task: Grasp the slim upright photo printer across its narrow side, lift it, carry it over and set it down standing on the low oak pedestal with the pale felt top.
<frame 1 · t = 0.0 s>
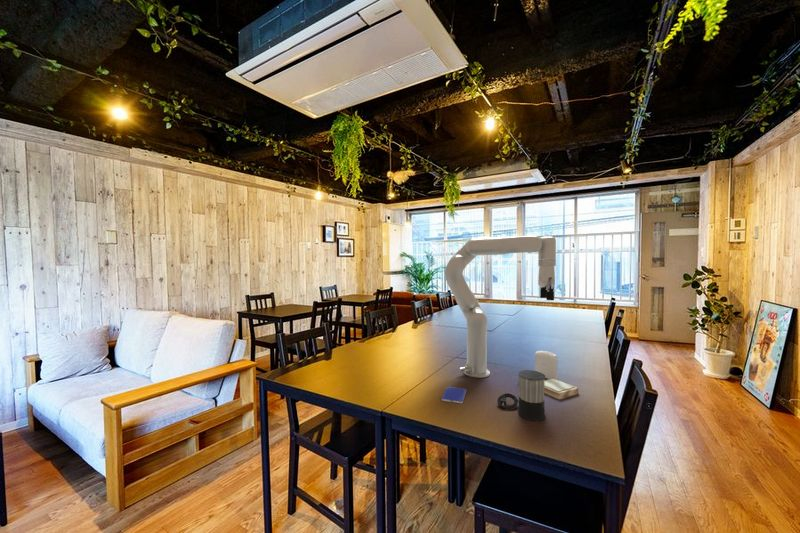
hand: (546, 298, 152), 37 cm above the table, tool pointing down, fingers open, 9 cm apart
pedestal: (555, 391, 135), on the table
hard drive: (454, 397, 132), on the table
milk frother: (520, 411, 118), on the table
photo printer: (546, 377, 151), on the table
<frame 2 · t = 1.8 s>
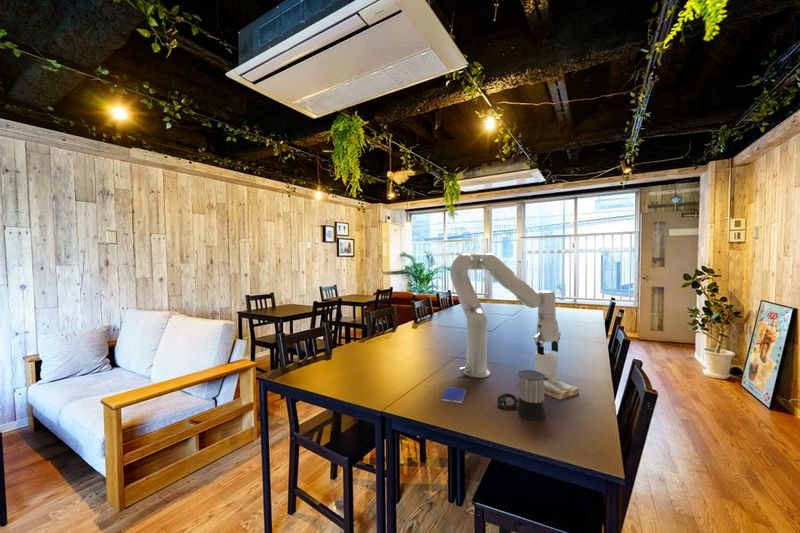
hand: (547, 352, 151), 12 cm above the table, tool pointing down, fingers open, 9 cm apart
nothing on the table moved.
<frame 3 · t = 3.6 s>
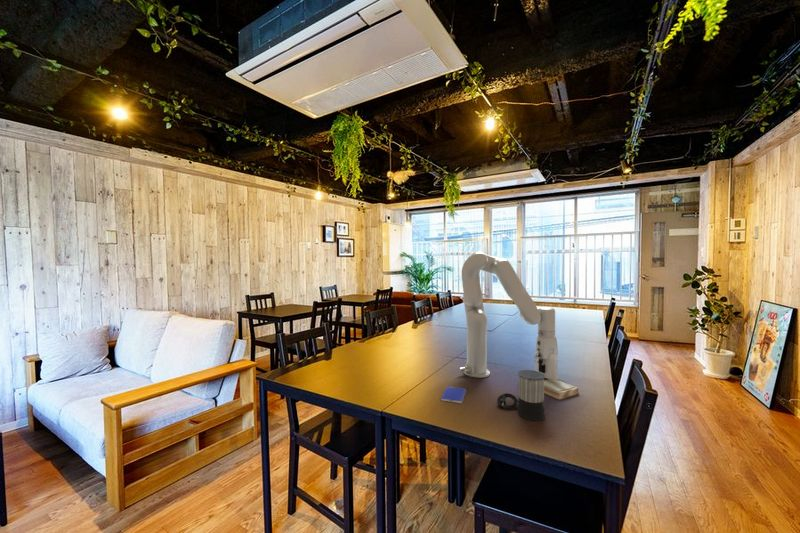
hand: (546, 371, 151), 3 cm above the table, tool pointing down, fingers closed on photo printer, 5 cm apart
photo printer: (546, 377, 151), on the table, touching gripper
everything else where it was.
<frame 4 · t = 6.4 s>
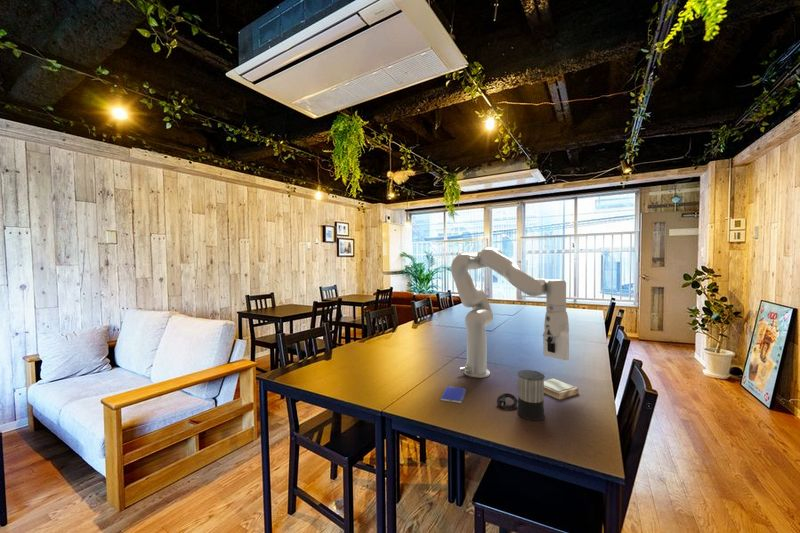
hand: (555, 350, 135), 17 cm above the table, tool pointing down, fingers closed on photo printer, 5 cm apart
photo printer: (555, 358, 135), point 14 cm above the table, touching gripper
everything else where it was.
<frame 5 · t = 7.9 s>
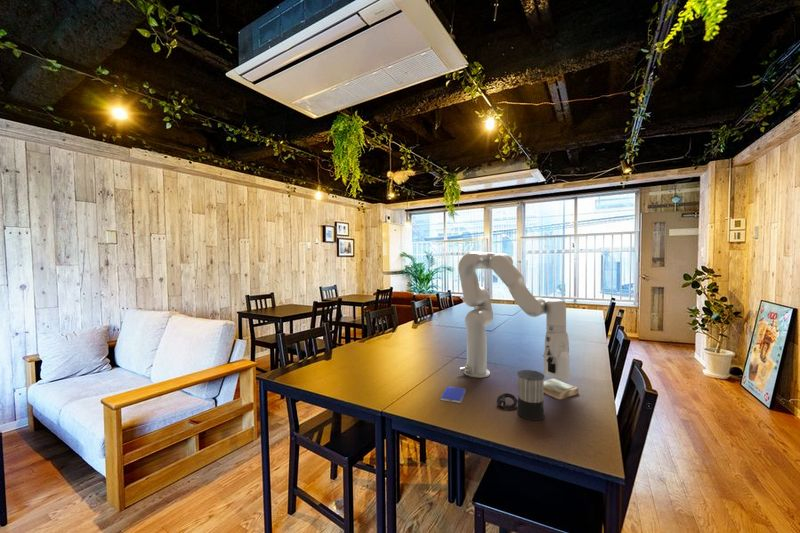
hand: (556, 370, 135), 9 cm above the table, tool pointing down, fingers closed on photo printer, 5 cm apart
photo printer: (556, 378, 135), point 6 cm above the table, touching gripper
everything else where it was.
when the fingers open (7 cm above the table, at t = 9.1 s): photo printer stays where it is, resting on pedestal.
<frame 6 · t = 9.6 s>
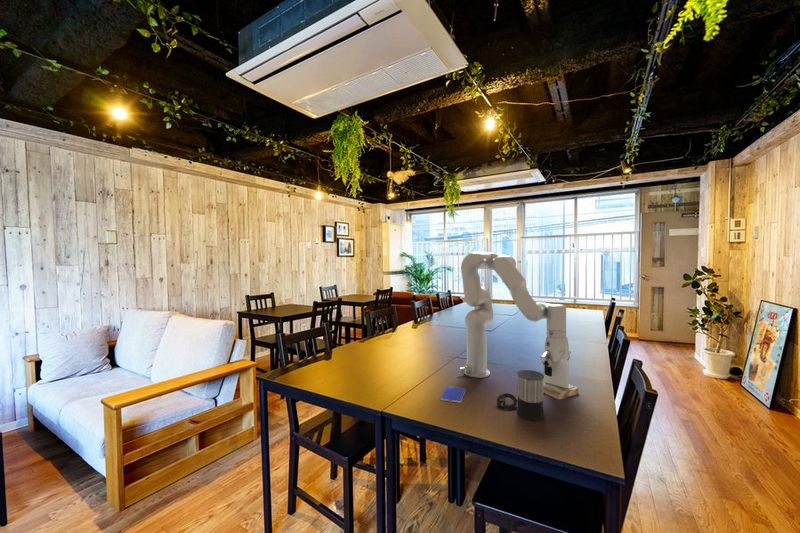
hand: (556, 373, 135), 8 cm above the table, tool pointing down, fingers open, 9 cm apart
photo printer: (555, 385, 135), point 3 cm above the table, touching pedestal
everything else where it was.
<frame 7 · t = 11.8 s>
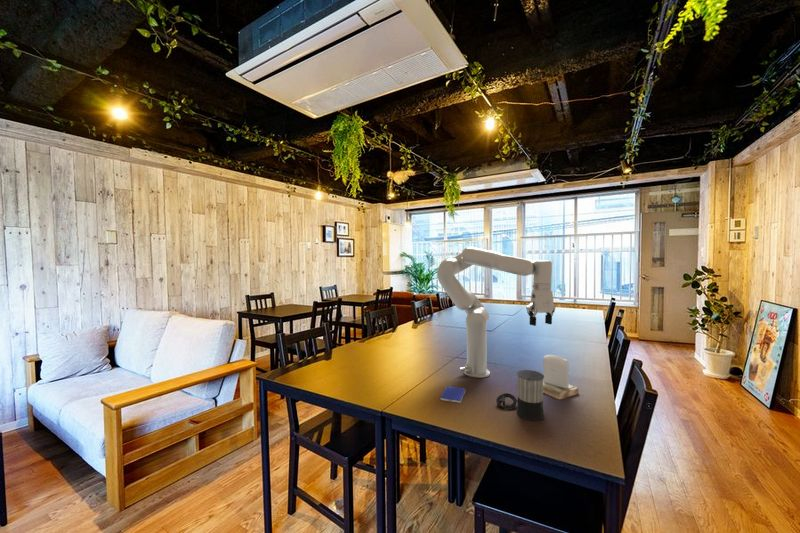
hand: (540, 324, 146), 26 cm above the table, tool pointing down, fingers open, 9 cm apart
nothing on the table moved.
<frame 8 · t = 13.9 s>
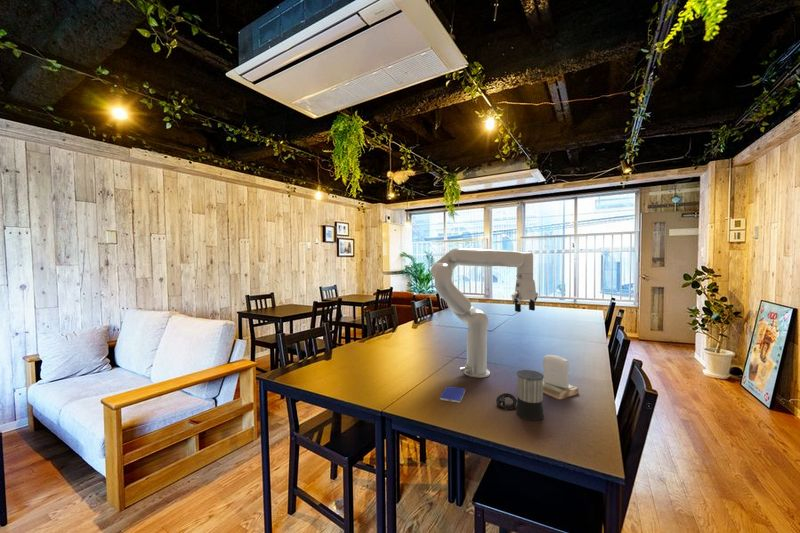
hand: (524, 310, 160), 30 cm above the table, tool pointing down, fingers open, 9 cm apart
nothing on the table moved.
at the end: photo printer inside the target area on the pedestal (0.1 cm from its centre), point 2.6 cm above the pedestal's base; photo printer tilted 0°; the gripper is holding nothing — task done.
